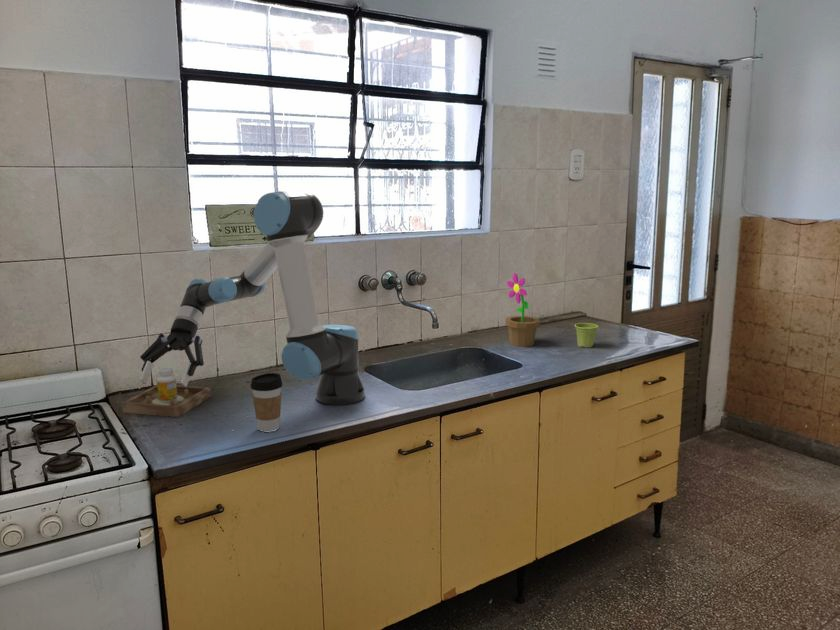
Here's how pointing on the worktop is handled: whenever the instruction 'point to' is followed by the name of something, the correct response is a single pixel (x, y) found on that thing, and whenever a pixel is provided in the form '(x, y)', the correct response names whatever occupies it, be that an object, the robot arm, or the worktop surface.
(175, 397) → the supplement bottle
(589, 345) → the plant pot
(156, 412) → the pin tray
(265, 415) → the coffee cup
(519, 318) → the flowerpot
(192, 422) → the worktop surface
